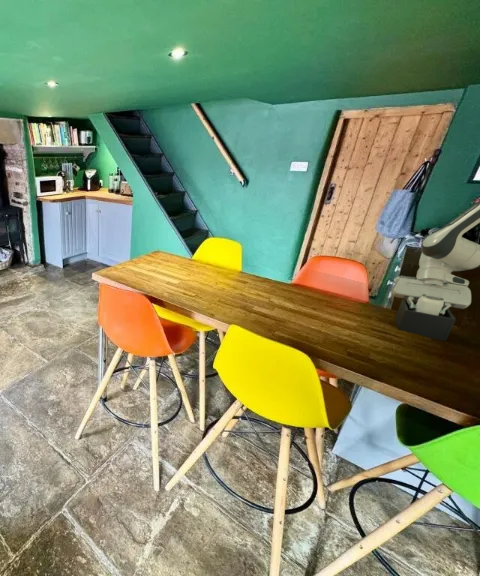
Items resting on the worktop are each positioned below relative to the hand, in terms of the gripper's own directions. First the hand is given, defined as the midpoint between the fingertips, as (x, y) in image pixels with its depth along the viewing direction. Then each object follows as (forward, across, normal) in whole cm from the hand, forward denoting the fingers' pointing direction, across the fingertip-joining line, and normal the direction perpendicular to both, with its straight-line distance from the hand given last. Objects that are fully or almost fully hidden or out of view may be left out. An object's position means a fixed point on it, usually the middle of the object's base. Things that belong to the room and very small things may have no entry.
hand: (426, 311), depth 113 cm
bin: (+5, 0, +6) cm, 8 cm away
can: (+4, 0, +5) cm, 6 cm away
